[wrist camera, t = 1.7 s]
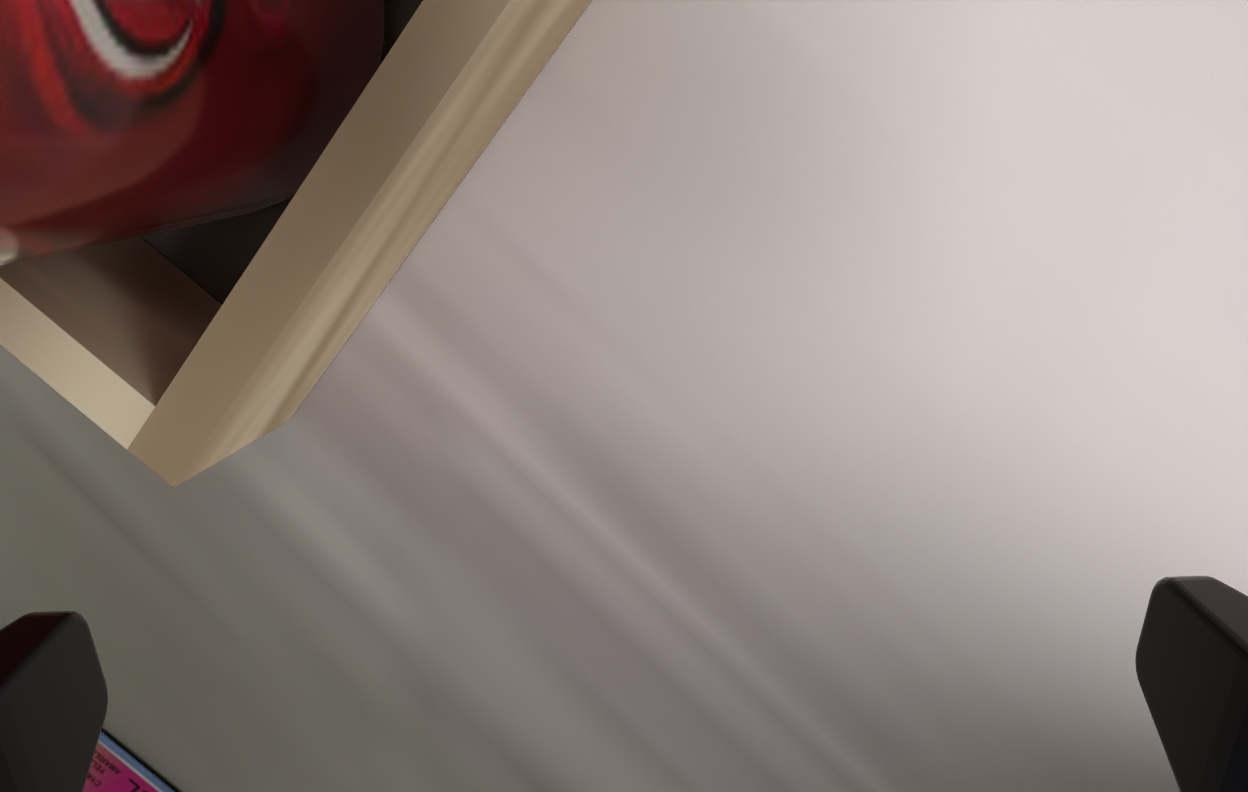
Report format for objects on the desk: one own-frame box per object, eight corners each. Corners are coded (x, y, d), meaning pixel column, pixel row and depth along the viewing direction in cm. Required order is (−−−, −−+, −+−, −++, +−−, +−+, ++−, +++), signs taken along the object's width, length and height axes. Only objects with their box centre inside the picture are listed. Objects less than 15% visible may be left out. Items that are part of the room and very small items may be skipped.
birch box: (625, -48, 19) (566, -82, 15) (289, 419, 22) (173, 488, 18) (117, -481, 18) (-76, -626, 15) (-138, 63, 22) (-345, 59, 18)
